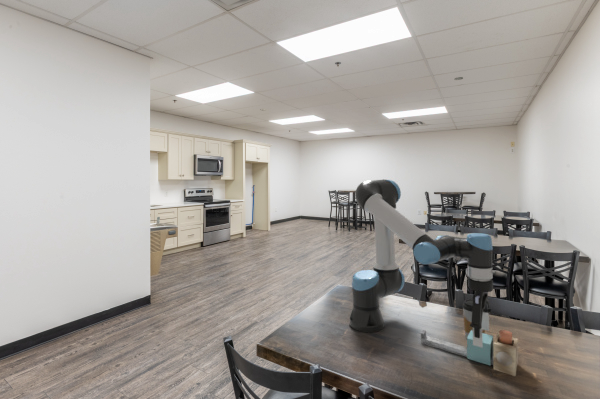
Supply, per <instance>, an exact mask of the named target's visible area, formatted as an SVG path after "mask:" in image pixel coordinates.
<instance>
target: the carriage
mask: <svg viewBox="0 0 600 399" xmlns="http://www.w3.org/2000/svg"><path fill="white" fill-rule="evenodd" d="M482 340H483V347H479V346H475V345H473V330H471V331H470V333H469V335H468V337H467V339H466V347H467V357H466V358H467V359H468V360H470V361H473V362H477V363H480V364H484V365H487V366H491V358H492V355H494V335H491V334H488V333H485V334H484V333H482Z"/></svg>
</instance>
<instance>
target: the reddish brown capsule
mask: <svg viewBox="0 0 600 399" xmlns="http://www.w3.org/2000/svg"><path fill="white" fill-rule="evenodd" d="M498 332H499V333H498V334H499V340H500V341H501V342H502V343H505V344H512V338H513V332H511V331H509V330H506V329H500V330H498Z"/></svg>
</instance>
